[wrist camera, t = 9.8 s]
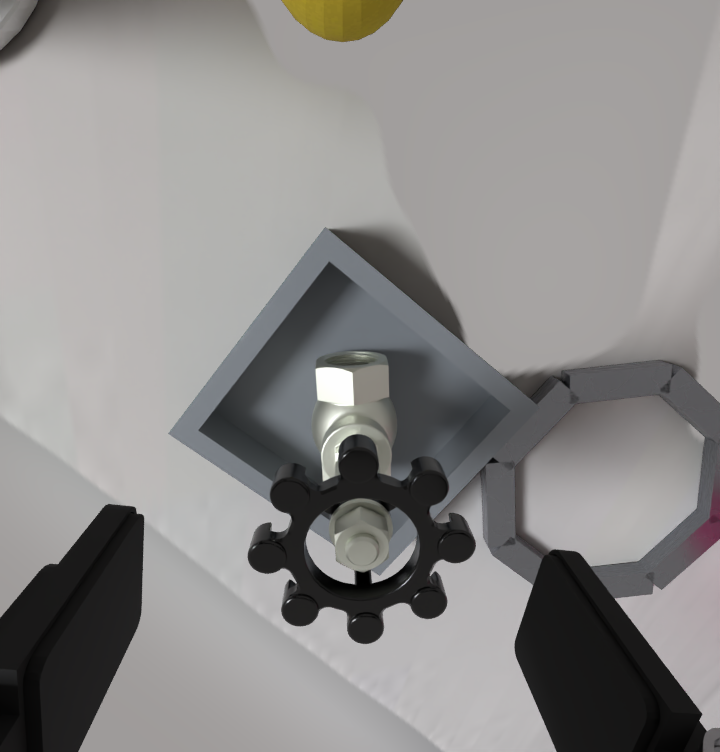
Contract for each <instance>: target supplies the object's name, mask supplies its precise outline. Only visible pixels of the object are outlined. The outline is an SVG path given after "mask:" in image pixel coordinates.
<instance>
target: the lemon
mask: <svg viewBox="0 0 720 752" xmlns="http://www.w3.org/2000/svg"><path fill="white" fill-rule="evenodd" d="M402 1H403V0H282V2H283V3H284V5H285V6H286V7H287V9H288V10H289V11H290V13H291V14H292V15H293V17H294V18H295V19H296V20H297V21H298V22H299V23H300V24H302V25H303V26H304V27H305V28H306V29H308V30H309V31H310V32H312V33H314V34H316V35H318V36H320V37H322V38H324V39H326V40H332V41H339V42H347V41H354V40H359V39H362V38H364V37H366V36H368V35H370V34H373V33H374V32H375V31H377V30H378V29H379V28H380V27H381V26H383V25H384V24H385V23H386V22H387V21H388V20H389V19H390V18H391V17H392V15H393V14H394V12H395V11H396V9H397V8H398V7H399V5H400V4H401V3H402Z"/></svg>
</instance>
